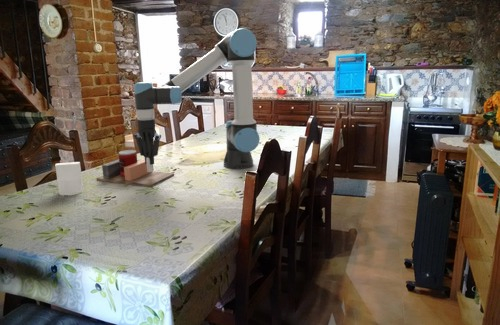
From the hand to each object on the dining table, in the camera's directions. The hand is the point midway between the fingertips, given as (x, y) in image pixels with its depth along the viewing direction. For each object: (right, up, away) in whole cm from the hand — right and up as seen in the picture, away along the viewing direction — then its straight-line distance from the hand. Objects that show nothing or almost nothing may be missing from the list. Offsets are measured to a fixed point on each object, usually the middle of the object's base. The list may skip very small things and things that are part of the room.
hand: (150, 171), depth 167 cm
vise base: (-7, -3, +3) cm, 9 cm away
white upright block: (-28, -8, -15) cm, 33 cm away
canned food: (-11, -2, +4) cm, 12 cm away
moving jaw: (-6, -2, +3) cm, 7 cm away
